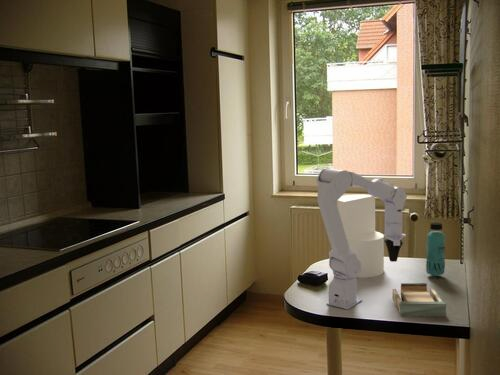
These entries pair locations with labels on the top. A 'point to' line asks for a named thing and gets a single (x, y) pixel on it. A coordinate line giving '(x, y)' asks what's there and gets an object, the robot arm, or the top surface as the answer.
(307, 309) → the top surface
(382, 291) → the top surface
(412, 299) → the small wooden block
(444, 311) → the pale green tray
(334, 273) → the robot arm
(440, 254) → the beverage bottle
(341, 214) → the white tall stepped piece
